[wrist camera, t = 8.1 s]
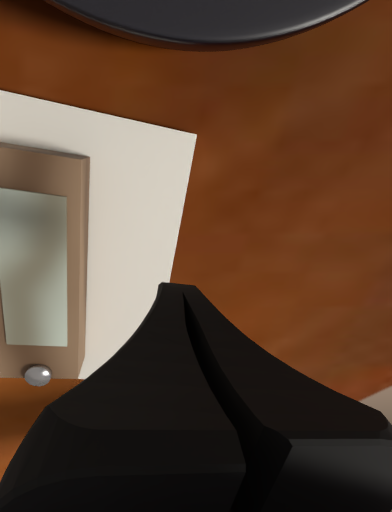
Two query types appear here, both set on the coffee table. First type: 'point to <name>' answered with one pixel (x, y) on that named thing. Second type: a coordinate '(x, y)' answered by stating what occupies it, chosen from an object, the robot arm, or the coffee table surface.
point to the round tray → (205, 20)
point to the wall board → (114, 207)
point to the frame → (43, 263)
